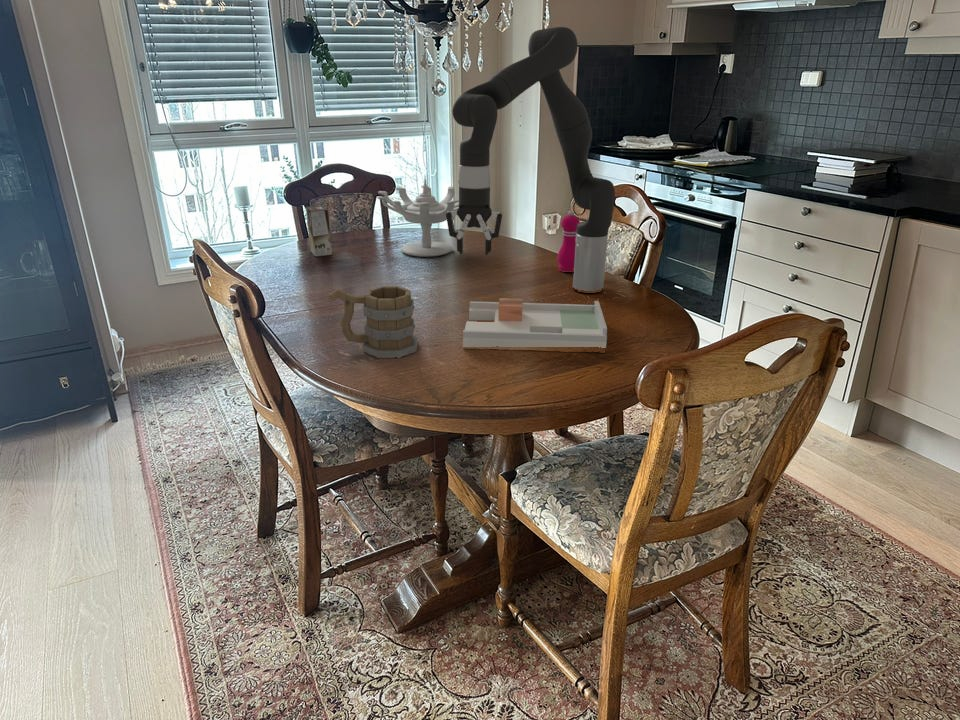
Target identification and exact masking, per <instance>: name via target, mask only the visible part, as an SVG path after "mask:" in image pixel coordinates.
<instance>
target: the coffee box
mask: <svg viewBox="0 0 960 720" xmlns="http://www.w3.org/2000/svg"><path fill="white" fill-rule="evenodd" d="M305 211H306V212H305V213H306V221H307V231H308V239H309V240H308V241H309V249H310V250H309V251H310V253H312V255H313V256H315V257H323V256H331V255H332V251H333V250H332V239H331V230H330V229H331V226H330V217H329V216H330V215H329V210H328V208H326V207H325V206H324V205H314V206H313V205H312V206H306V207H305Z"/></svg>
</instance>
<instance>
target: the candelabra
mask: <svg viewBox="0 0 960 720" xmlns="http://www.w3.org/2000/svg"><path fill="white" fill-rule="evenodd" d="M421 188H422V192H421V193H420V194H418V195H417V196H416V197H415V200H414V201H413V200H412V199H411V198H410V197H409V196H408V192H407V189H406V188H404V187H400V186H396V187H394V189H395V190H396V191H398V195H399V198H400V199H401V200H402V202H403V204H402V203H401V201H400V200H392V199H391V198H390V197H389V195H388V191H384V190H379V191H378V192H377V193H378V194H379V195H380V196H379V195H378V196H377V199H378V200H381V202H382V205H383V206H384V207H386V208H387V209H389V210H390V211H393V212H396V213H397V214H399V215H402V217H403V218H404V220H405V221H406V222H407V223H412V224H419V225H420V227H421V230H422V231H421V232H422V234H421V241H414V242H410V243H406V244H403V246H401V249H400V251H401V252H402V253H404V254H406V255H409V256H411V257H413V256H414V257H424V258H427V257H429V258H430V257H432V258H433V257H439V256H444V255H446V254H450V253H451V252H452V251H453V246H451V245H450V244H449V243H445V242H442V241H441V242H440V241H433V240H432V234H431V230H432V226H433V224H439V223H443V222H447V218H446V213H447V212H448V211H457V210H458V208H459V199H458V200H457V199H455V200H453V198H455V197H454V195H455V187H454V186H451V185H450V186H448V187H447V193H446V195H445V196H444V198H443V199H442V200H441V201H438V200H436V197H435V196H434V195H433V194H432V188H431V187H430V186H428V184H427V180H426V177H424V181H423V185H421ZM381 195H383V196H381Z"/></svg>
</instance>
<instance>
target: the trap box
mask: <svg viewBox="0 0 960 720" xmlns="http://www.w3.org/2000/svg"><path fill="white" fill-rule="evenodd" d="M498 312H499V301H497V302H496V301H469V309H468V320H467V321H466V323H465V327H464V329H463V330H462V348H463V347H492V346H493V347H496V346H499V347H599V348H600V347H601V348H606V349H607V343H608V342H607V341H608V327H607V324H606V323H607V322H606V321H605V320H606V319H605V317H604V314H603V311H602V307H601V305H600V302H599V300H594V304H573V303H570V304H569V303H538V302H537V303H535V302H523V304H522V321H498ZM469 320H494V322H477V321H469Z"/></svg>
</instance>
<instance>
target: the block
mask: <svg viewBox="0 0 960 720" xmlns="http://www.w3.org/2000/svg"><path fill="white" fill-rule="evenodd" d="M498 298H499V297H498ZM498 302H499V312H498V321H522V304H523V303H524V302H523V298H507V297H506V298H505V297H503V298H502V297H500V298H499V301H498Z"/></svg>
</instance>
